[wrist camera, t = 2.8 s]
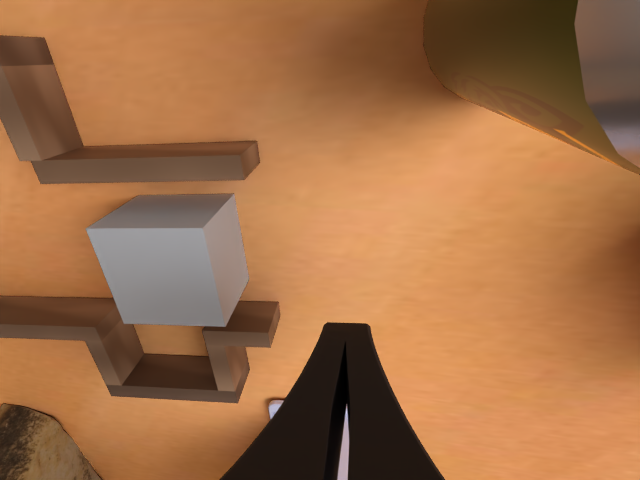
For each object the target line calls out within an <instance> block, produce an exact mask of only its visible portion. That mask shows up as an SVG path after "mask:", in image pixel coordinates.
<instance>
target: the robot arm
mask: <svg viewBox="0 0 640 480" xmlns="http://www.w3.org/2000/svg"><path fill="white" fill-rule="evenodd" d="M268 409H269V414H270V421H269V423H268V424H267V425H266V427H265V428H264V429H263V430H262V432H261V433H260V434H259V435H258V437H257V438H256V439H255V440H254V441H253V443H252V444H251V445H250V446H249V448H248V449H247V450H246V451H245V452H244V454H243V455H242V456H241V457H240V458H239V459H238V460H237V462H236V463H235V464H234V465H233V466H232V467H231V468H230V469H229V470H228V471H227V472H226V473H225V474H224V475H223V477H222V478H221V479H220V480H445V479H444V477H443V476H442V474H441V473H440V472H439V470H438V469H437V467H436V466H435V464H434V463H433V461H432V460H431V458H430V456H429V455H428V453H427V452H426V450H425V449H424V447H423V445H422V444H421V442H420V440H419V439H418V437H417V435H416V434H415V432H414V430H413V429H412V427H411V425H410V423H409V422H408V420H407V418H406V416H405V414H404V412H403V410H402V409H401V407H400V405H399V403H398V401H397V399H396V397H395V395H394V393H393V390H392V388H391V386H390V384H389V382H388V379H387V377H386V375H385V372H384V370H383V368H382V365H381V363H380V360H379V357H378V354H377V352H376V349H375V345H374V342H373V338H372V334H371V328H370V326H369V325H368V324H362V323H328V322H327V323H326V324H325V325H324V327H323V330H322V332H321V335H320V337H319V340H318V342H317V344H316V346H315V348H314V350H313V352H312V354H311V356H310V358H309V360H308V362H307V364H306V366H305V367H304V369H303V371H302V373H301V375H300V376H299V378H298V380H297V381H296V383H295V384H294V386H293V388H292V389H291V391H290V392H289V394H288V395H287V397H286V399H285V400H273V401H271V402H270V403H269V408H268Z"/></svg>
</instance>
